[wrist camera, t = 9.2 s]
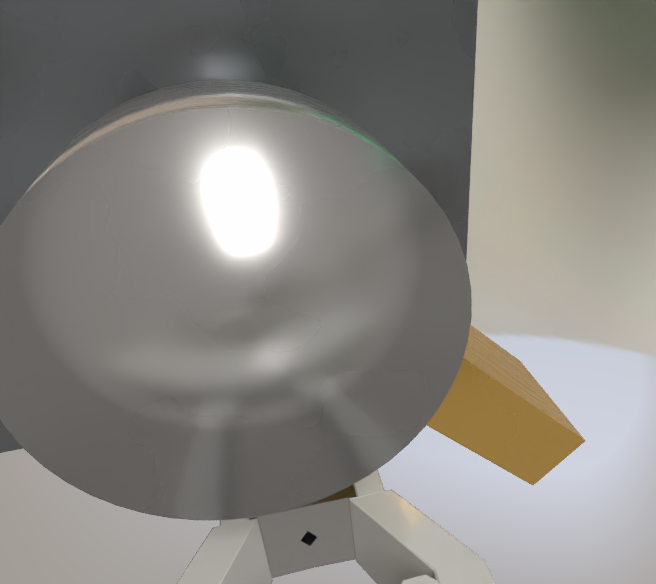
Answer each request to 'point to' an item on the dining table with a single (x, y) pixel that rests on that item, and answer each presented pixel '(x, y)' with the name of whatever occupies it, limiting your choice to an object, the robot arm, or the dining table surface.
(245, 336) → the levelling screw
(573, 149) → the dining table surface
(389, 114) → the base
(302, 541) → the robot arm
